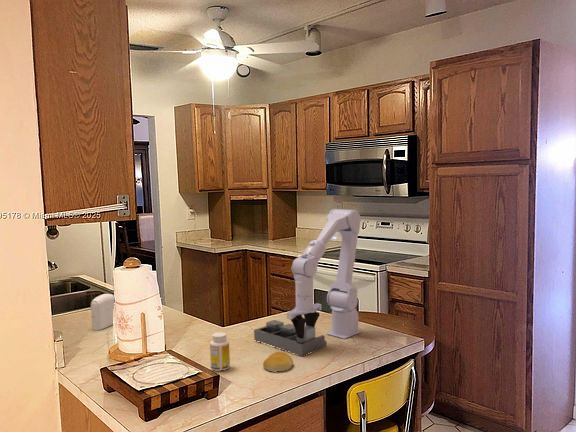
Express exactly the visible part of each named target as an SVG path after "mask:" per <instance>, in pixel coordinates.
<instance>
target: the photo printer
mask: <svg viewBox="0 0 576 432" xmlns="http://www.w3.org/2000/svg"><path fill="white" fill-rule="evenodd" d="M114 298H115V296H114V294H112V293H111V294H110V293H103V294H100V295H98V296H96V297H95V298H94V299H92V301H91V302H90V312H91V313H90V314H91V326H92V327H91V329H92V330H93V331H101V330H103V329H106V328H108V327H111V326H112V325H114V324H113V309H114Z"/></svg>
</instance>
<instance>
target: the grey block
mask: <svg viewBox="0 0 576 432" xmlns="http://www.w3.org/2000/svg"><path fill="white" fill-rule="evenodd" d="M315 337H316V326H315V327H311V326H307V325H306V324H305V326H304V337H303V338H302V339H301V338H298V337H297V342H300V343H302V342H305V341H308V340H310V339H313V338H315Z"/></svg>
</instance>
